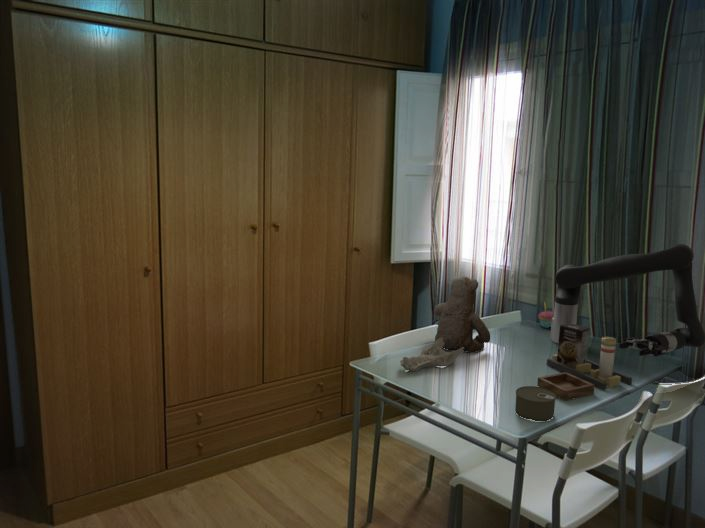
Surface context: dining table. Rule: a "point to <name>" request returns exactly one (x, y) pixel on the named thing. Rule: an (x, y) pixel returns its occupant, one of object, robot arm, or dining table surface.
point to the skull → (431, 357)
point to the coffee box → (572, 344)
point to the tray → (566, 385)
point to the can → (535, 403)
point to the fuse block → (593, 377)
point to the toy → (461, 318)
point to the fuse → (606, 358)
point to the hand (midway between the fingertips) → (630, 349)
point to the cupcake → (546, 318)
